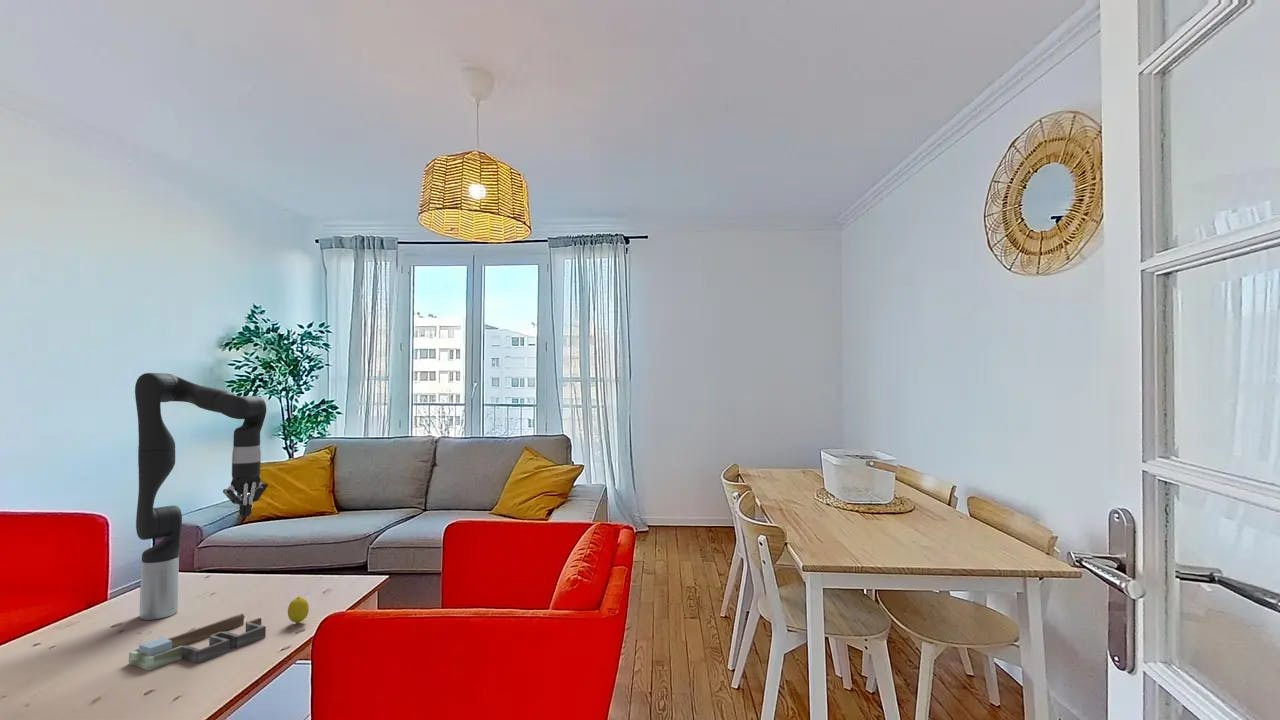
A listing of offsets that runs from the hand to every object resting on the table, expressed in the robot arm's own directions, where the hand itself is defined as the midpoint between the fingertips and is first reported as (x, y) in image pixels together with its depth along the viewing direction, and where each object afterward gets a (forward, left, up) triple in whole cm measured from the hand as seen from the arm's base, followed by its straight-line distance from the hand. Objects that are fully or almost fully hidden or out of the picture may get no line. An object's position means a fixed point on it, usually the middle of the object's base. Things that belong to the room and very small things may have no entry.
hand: (245, 516), depth 191 cm
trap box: (+12, -18, -31) cm, 38 cm away
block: (+9, -29, -31) cm, 43 cm away
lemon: (+20, +4, -31) cm, 37 cm away
